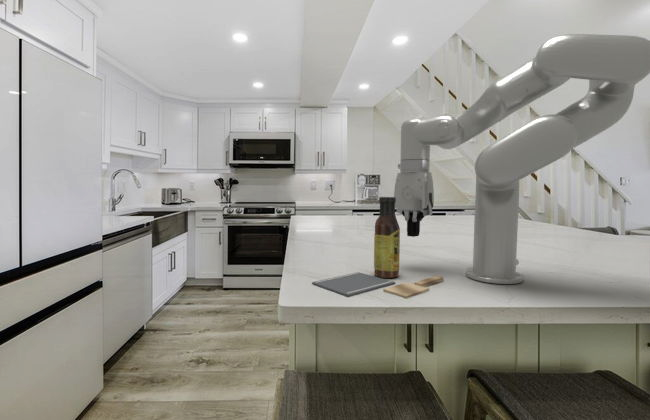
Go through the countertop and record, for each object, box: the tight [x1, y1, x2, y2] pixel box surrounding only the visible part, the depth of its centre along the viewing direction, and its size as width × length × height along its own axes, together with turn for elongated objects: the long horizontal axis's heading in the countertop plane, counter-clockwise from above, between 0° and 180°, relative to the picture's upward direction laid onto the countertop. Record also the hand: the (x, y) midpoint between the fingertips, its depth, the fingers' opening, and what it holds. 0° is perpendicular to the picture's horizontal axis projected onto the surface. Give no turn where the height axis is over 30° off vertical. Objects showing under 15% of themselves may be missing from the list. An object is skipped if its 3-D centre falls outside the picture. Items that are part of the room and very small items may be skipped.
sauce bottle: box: [373, 196, 401, 279], centre depth 86 cm, size 6×6×20 cm
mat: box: [311, 271, 396, 298], centre depth 80 cm, size 15×12×1 cm
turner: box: [383, 275, 444, 299], centre depth 77 cm, size 17×6×1 cm, turn 130°
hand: (413, 235), depth 93 cm, fingers closed
